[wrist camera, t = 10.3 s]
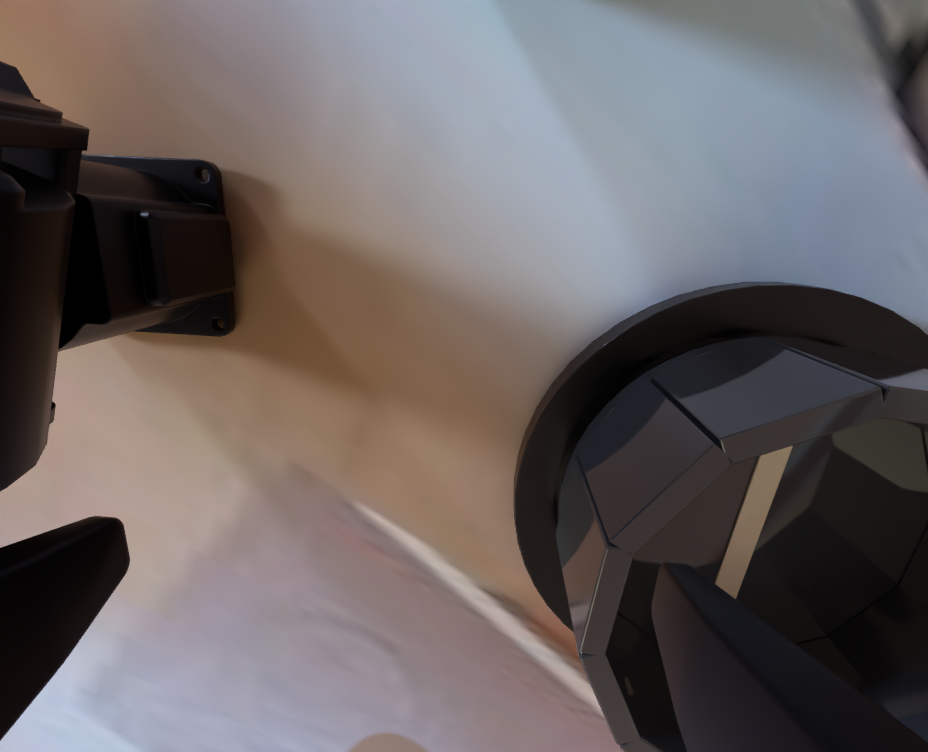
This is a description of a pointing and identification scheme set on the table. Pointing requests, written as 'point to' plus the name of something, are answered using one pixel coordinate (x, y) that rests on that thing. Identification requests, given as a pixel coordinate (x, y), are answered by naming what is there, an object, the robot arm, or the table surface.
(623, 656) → the bowl
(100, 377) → the table surface
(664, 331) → the turntable
